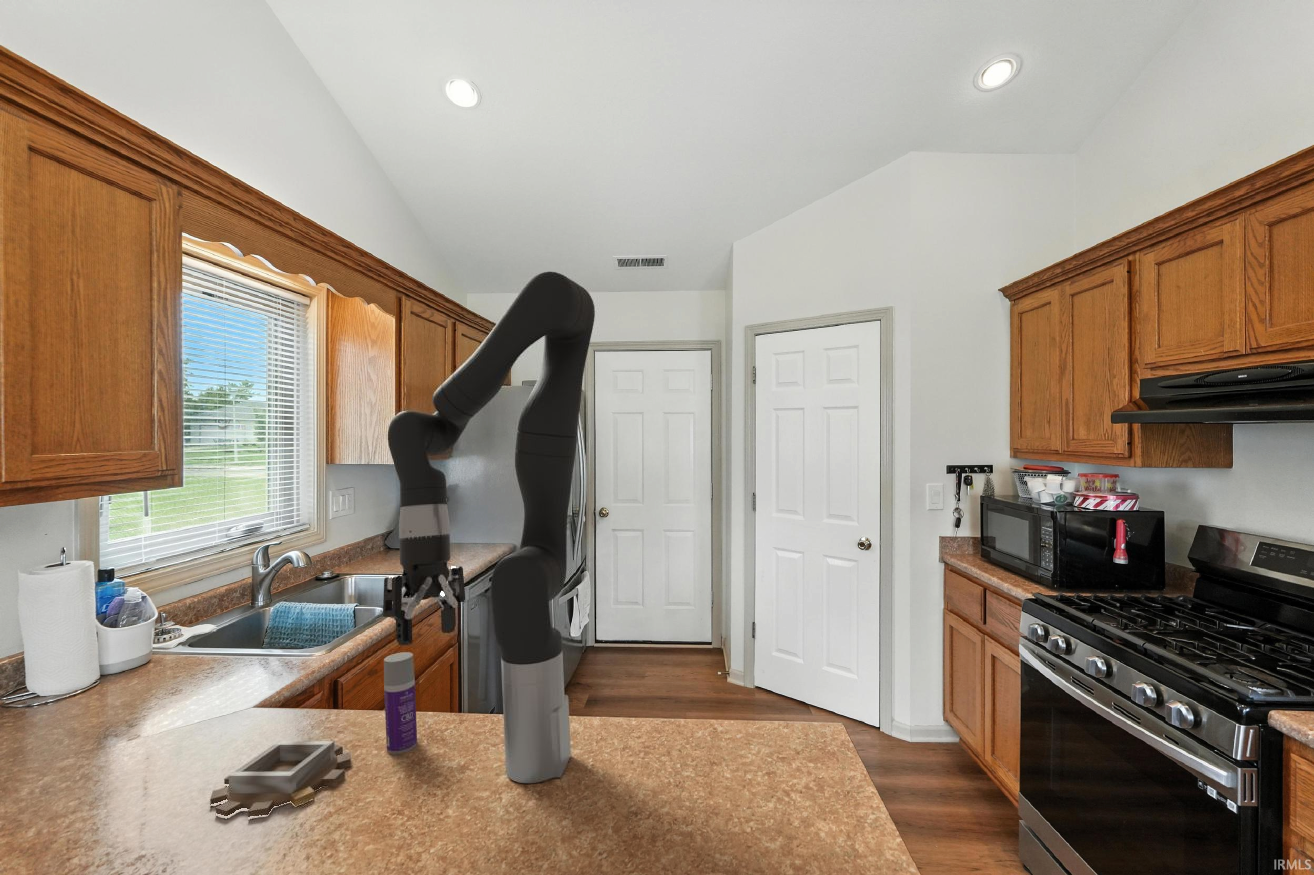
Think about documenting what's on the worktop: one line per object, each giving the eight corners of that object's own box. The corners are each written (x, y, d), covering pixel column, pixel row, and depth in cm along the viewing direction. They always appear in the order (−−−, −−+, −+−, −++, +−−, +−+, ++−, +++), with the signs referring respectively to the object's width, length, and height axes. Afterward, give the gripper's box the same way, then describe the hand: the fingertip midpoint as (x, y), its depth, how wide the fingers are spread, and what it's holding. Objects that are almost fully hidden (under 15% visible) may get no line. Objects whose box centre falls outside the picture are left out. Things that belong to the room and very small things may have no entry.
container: (405, 755, 92) (402, 662, 92) (380, 753, 93) (376, 661, 93) (423, 740, 96) (419, 652, 97) (398, 739, 97) (395, 651, 98)
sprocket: (373, 751, 94) (373, 728, 94) (298, 820, 76) (297, 792, 76) (274, 751, 95) (273, 729, 95) (177, 819, 78) (177, 792, 78)
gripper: (405, 535, 83) (407, 649, 81) (474, 530, 96) (478, 628, 94) (369, 538, 86) (371, 649, 84) (441, 533, 99) (444, 628, 97)
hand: (427, 638), depth 89 cm, fingers open, 8 cm apart
